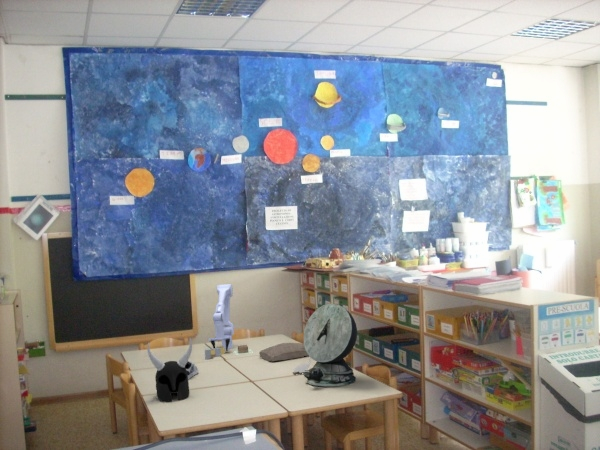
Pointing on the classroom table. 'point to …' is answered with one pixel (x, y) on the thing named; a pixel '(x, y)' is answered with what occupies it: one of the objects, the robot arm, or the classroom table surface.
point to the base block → (242, 349)
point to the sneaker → (191, 369)
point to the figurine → (302, 367)
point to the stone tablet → (283, 352)
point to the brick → (222, 349)
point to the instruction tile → (212, 353)
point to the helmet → (171, 376)
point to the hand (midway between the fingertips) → (220, 351)
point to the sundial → (330, 345)
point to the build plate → (243, 353)
